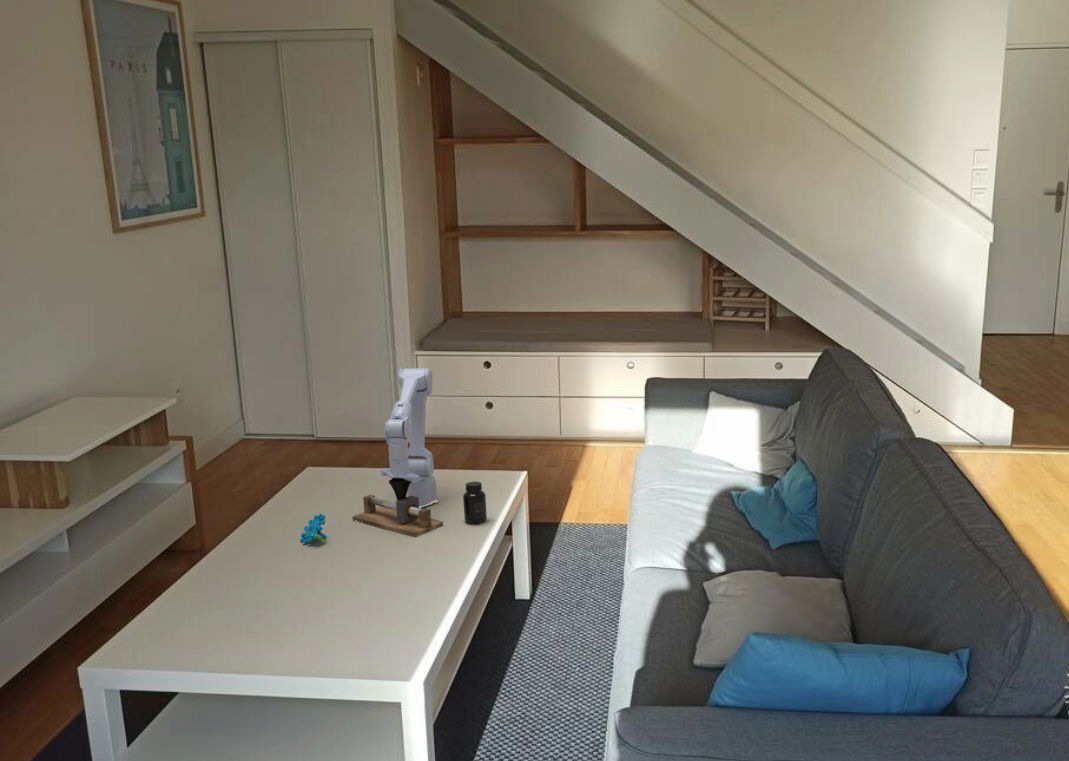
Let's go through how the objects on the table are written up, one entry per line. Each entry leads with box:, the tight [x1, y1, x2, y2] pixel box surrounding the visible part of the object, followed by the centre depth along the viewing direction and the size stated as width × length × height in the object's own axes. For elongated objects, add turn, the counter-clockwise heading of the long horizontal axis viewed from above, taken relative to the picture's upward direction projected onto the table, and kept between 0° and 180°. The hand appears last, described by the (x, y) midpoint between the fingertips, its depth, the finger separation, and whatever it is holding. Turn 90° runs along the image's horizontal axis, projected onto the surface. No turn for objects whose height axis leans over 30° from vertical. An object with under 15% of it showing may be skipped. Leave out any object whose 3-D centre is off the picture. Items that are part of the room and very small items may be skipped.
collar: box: [395, 496, 419, 523], centre depth 302 cm, size 6×3×6 cm, turn 142°
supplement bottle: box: [462, 481, 488, 526], centre depth 303 cm, size 7×7×12 cm
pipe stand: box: [351, 494, 444, 538], centre depth 305 cm, size 12×27×6 cm, turn 52°
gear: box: [300, 513, 328, 545], centre depth 293 cm, size 11×6×10 cm
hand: (401, 501), depth 303 cm, fingers closed
